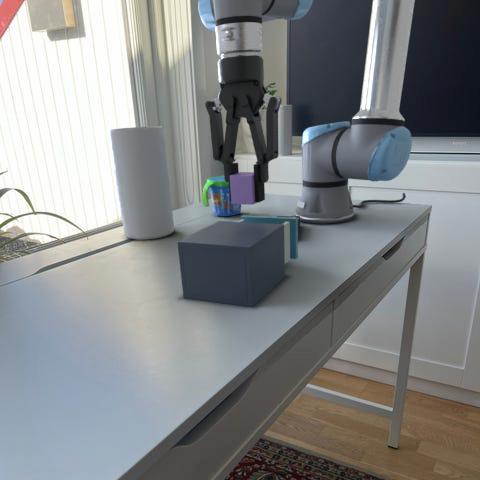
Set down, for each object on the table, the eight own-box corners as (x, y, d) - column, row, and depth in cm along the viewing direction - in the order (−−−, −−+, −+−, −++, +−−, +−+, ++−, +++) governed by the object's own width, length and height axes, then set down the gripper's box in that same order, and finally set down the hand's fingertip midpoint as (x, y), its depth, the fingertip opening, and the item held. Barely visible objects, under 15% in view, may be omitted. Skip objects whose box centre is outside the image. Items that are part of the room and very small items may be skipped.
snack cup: (240, 207, 146) (238, 173, 141) (260, 212, 138) (259, 175, 133) (195, 216, 138) (191, 179, 134) (213, 221, 130) (210, 183, 126)
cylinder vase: (161, 225, 129) (149, 126, 119) (183, 233, 119) (171, 126, 109) (117, 234, 123) (100, 130, 113) (136, 243, 113) (119, 130, 103)
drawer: (255, 246, 102) (253, 209, 99) (306, 250, 98) (306, 211, 94) (214, 274, 87) (210, 231, 84) (272, 280, 82) (271, 235, 79)
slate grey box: (223, 270, 91) (219, 220, 87) (285, 276, 86) (284, 224, 82) (183, 298, 79) (176, 241, 75) (252, 307, 74) (249, 247, 70)
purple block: (241, 199, 91) (240, 172, 89) (263, 200, 89) (261, 172, 87) (231, 203, 87) (229, 175, 85) (253, 204, 85) (251, 175, 83)
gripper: (183, 60, 79) (196, 203, 89) (281, 49, 72) (284, 206, 81) (205, 62, 85) (215, 195, 95) (298, 52, 78) (299, 198, 87)
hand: (247, 200), depth 88 cm, fingers closed on purple block, 4 cm apart
